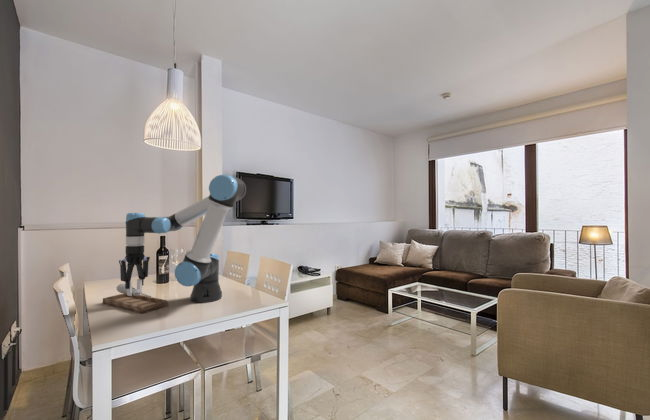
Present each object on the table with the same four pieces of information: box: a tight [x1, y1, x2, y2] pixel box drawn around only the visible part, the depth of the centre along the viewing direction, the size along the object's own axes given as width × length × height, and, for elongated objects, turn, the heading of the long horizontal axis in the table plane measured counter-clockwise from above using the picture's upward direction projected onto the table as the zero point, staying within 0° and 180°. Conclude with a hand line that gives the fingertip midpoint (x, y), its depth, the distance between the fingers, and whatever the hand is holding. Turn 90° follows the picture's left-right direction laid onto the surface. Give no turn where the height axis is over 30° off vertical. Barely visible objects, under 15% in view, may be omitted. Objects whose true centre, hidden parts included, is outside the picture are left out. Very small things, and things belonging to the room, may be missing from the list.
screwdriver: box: [115, 283, 152, 297], centre depth 142 cm, size 5×25×4 cm, turn 63°
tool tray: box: [102, 293, 168, 314], centre depth 142 cm, size 30×12×2 cm, turn 64°
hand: (134, 294), depth 142 cm, fingers closed on screwdriver, 4 cm apart
